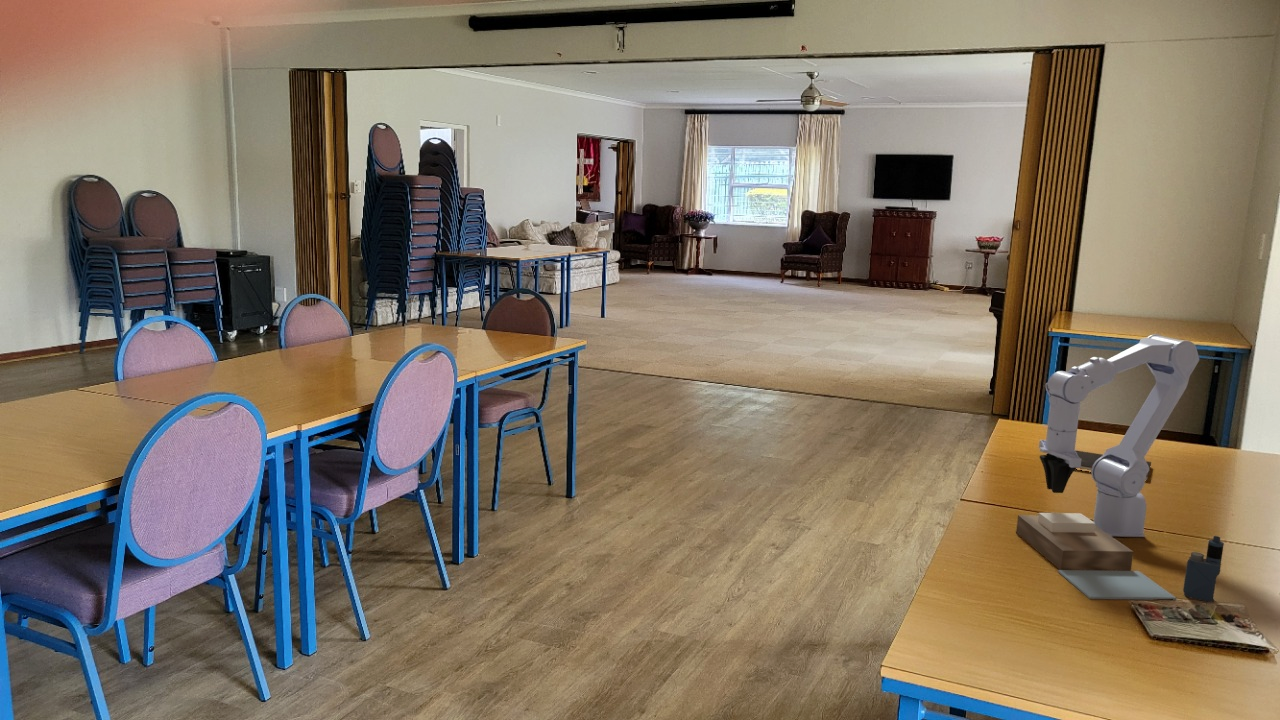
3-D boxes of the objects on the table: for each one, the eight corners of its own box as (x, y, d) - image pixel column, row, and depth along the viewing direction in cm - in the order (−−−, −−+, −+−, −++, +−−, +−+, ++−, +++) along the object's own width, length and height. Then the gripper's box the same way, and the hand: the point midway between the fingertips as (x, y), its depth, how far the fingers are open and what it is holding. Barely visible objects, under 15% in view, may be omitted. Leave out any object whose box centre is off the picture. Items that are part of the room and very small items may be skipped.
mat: (1138, 573, 183) (1138, 571, 182) (1175, 599, 171) (1176, 597, 171) (1058, 572, 182) (1058, 570, 182) (1089, 598, 170) (1089, 596, 170)
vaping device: (1215, 603, 170) (1225, 540, 167) (1182, 596, 172) (1191, 534, 170) (1215, 598, 172) (1225, 536, 170) (1182, 591, 174) (1191, 530, 172)
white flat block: (1079, 522, 198) (1080, 513, 198) (1094, 532, 192) (1095, 523, 192) (1037, 521, 198) (1038, 512, 198) (1051, 532, 192) (1052, 522, 192)
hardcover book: (1147, 484, 242) (1148, 475, 242) (1050, 468, 254) (1051, 460, 253) (1150, 469, 256) (1151, 461, 255) (1058, 455, 267) (1059, 447, 267)
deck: (1079, 533, 203) (1081, 516, 202) (1130, 570, 183) (1133, 551, 183) (1016, 532, 202) (1018, 515, 202) (1060, 570, 183) (1062, 550, 182)
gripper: (1028, 419, 205) (1021, 479, 207) (1060, 437, 190) (1052, 501, 193) (1059, 420, 205) (1053, 480, 207) (1094, 438, 191) (1086, 502, 193)
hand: (1055, 490), depth 200 cm, fingers closed
